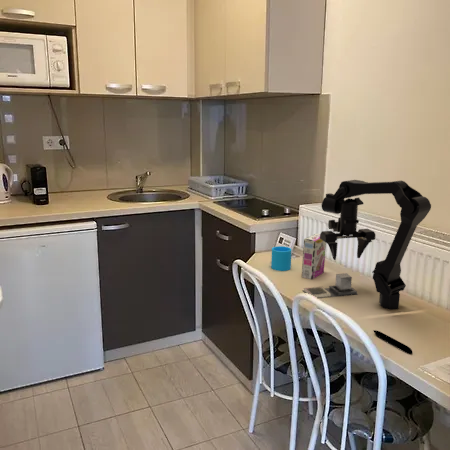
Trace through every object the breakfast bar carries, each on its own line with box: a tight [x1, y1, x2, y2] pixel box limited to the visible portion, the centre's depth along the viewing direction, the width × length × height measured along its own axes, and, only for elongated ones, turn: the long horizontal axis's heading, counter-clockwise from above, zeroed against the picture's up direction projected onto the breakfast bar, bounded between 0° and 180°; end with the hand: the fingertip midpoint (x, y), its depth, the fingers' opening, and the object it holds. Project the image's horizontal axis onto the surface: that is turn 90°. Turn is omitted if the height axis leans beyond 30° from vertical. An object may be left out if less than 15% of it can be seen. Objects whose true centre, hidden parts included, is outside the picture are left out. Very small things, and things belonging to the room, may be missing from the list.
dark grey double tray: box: [301, 285, 359, 299], centre depth 165 cm, size 8×18×2 cm, turn 103°
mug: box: [270, 245, 292, 272], centre depth 195 cm, size 12×8×8 cm
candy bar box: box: [301, 233, 327, 280], centre depth 182 cm, size 11×5×16 cm, turn 145°
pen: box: [373, 329, 413, 355], centre depth 131 cm, size 2×14×2 cm, turn 29°
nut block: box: [334, 272, 353, 292], centre depth 166 cm, size 4×4×6 cm
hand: (346, 258), depth 166 cm, fingers open, 9 cm apart
